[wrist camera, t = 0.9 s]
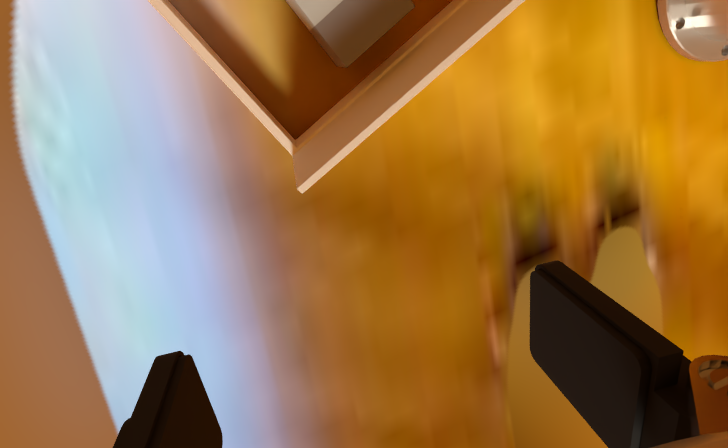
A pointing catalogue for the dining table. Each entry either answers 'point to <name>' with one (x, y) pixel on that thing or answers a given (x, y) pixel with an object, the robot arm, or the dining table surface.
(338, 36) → the box
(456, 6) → the carton
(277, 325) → the dining table surface
